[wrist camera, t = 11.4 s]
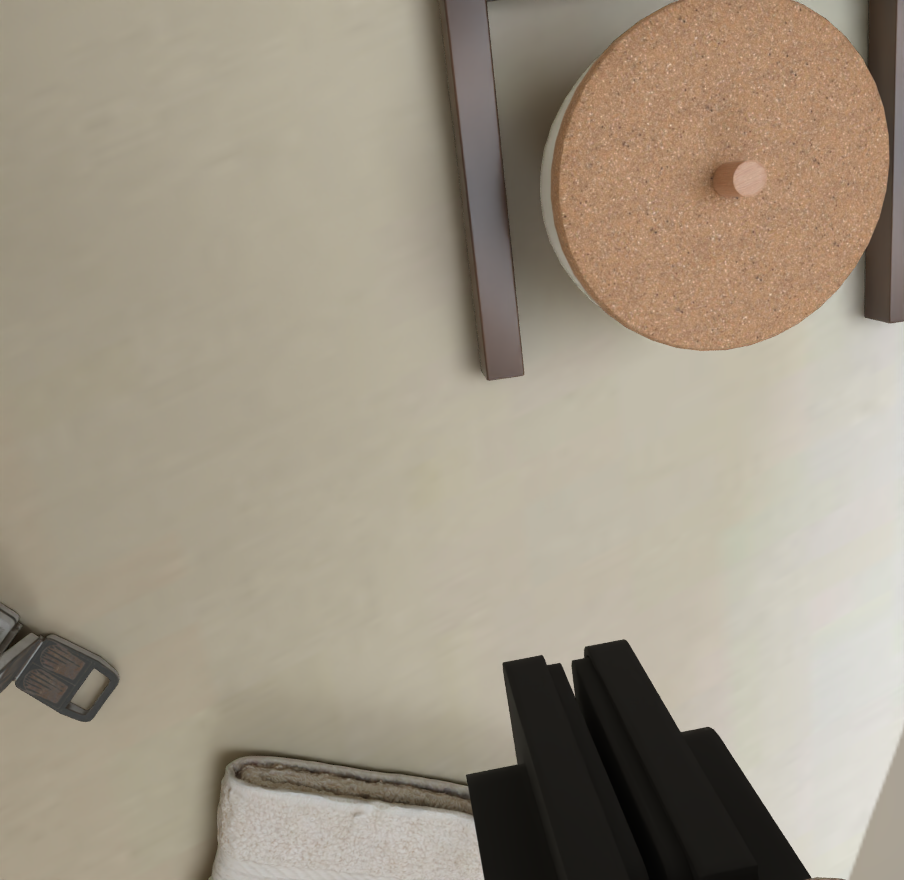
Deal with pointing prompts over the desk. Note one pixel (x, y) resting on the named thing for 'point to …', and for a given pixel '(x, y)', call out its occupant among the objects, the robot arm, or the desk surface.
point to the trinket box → (717, 171)
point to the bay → (484, 194)
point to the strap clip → (50, 668)
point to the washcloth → (341, 824)
